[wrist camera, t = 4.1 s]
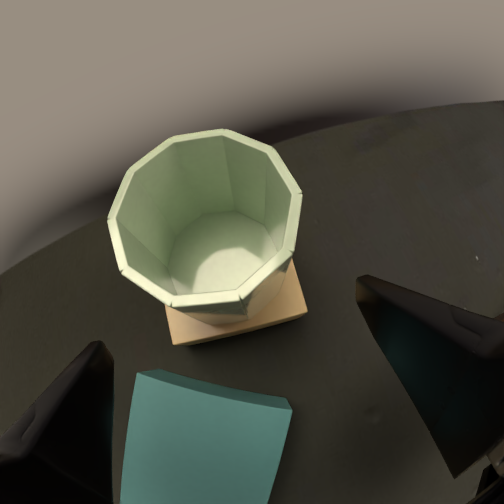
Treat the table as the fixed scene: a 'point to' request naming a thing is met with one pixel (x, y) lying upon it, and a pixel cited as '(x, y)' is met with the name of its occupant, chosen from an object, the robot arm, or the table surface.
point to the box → (201, 442)
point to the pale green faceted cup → (207, 225)
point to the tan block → (275, 312)
